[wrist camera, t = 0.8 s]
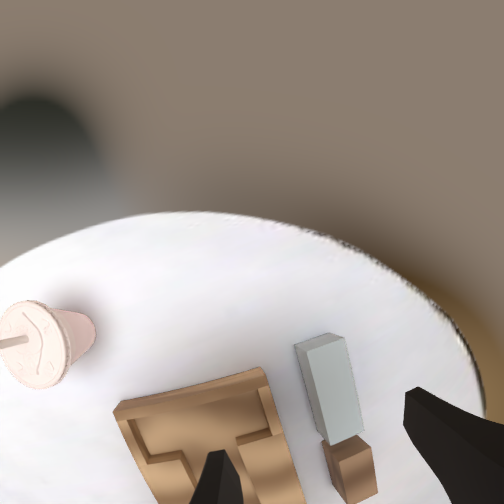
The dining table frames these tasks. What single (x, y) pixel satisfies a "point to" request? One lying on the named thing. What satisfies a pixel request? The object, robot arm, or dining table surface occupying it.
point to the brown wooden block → (351, 469)
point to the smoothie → (43, 342)
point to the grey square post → (330, 387)
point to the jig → (211, 439)
